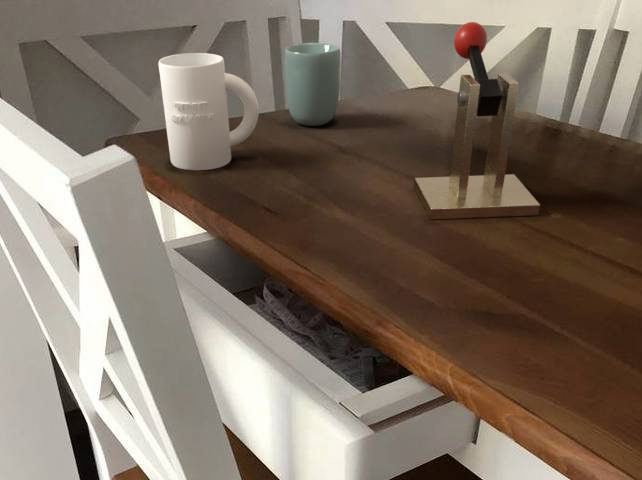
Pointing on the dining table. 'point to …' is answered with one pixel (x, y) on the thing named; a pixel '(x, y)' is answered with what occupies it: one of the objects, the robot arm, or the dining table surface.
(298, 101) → the cup
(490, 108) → the switch
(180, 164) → the mug
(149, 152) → the dining table surface
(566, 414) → the dining table surface
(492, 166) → the bracket
